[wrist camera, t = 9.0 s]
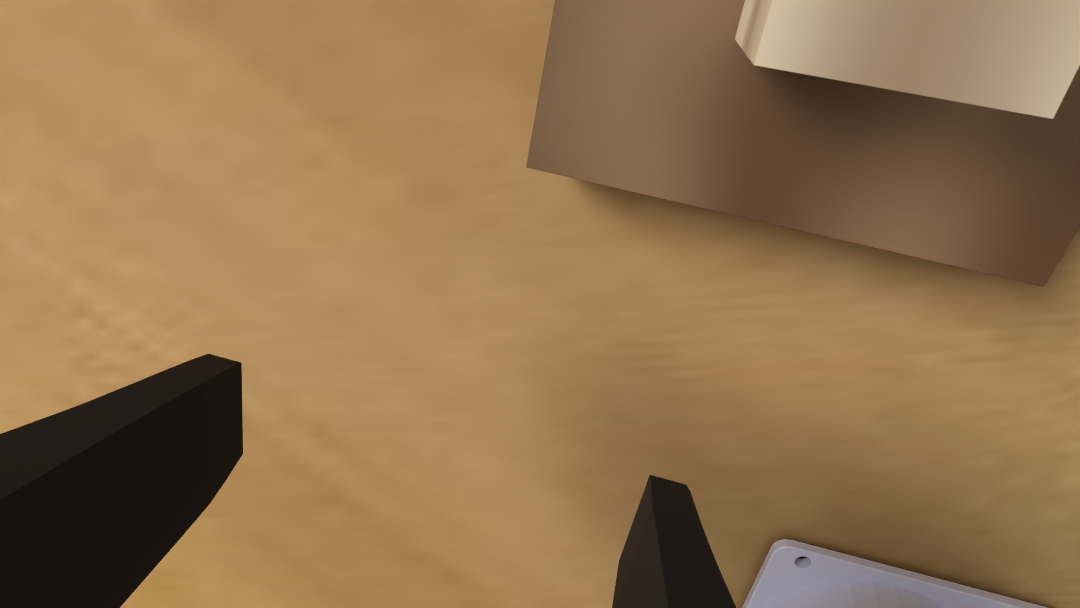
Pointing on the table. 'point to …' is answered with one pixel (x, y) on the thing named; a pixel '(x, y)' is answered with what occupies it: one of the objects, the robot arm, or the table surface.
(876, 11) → the block
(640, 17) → the plinth
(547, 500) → the table surface
